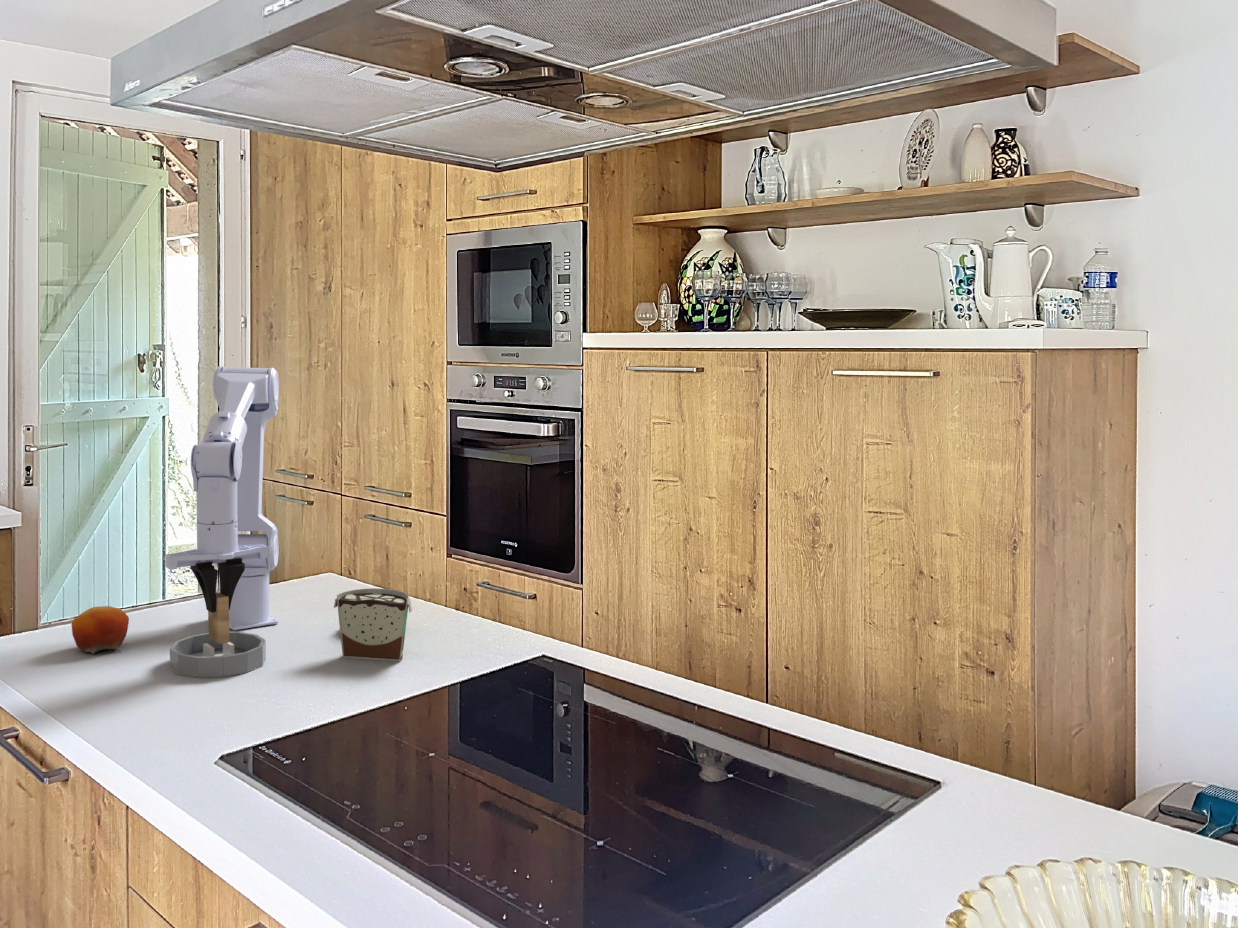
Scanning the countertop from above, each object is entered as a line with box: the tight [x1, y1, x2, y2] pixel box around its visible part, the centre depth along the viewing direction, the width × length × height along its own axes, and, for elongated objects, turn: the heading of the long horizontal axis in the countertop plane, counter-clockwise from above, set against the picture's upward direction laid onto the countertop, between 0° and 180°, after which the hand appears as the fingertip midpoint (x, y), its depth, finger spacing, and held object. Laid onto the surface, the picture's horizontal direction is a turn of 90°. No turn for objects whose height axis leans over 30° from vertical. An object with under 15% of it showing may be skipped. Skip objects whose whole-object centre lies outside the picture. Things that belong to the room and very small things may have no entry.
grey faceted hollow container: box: [169, 631, 267, 679], centre depth 160 cm, size 13×13×3 cm
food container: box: [333, 588, 413, 662], centre depth 167 cm, size 12×6×10 cm, turn 84°
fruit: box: [70, 605, 130, 655], centre depth 164 cm, size 8×8×8 cm
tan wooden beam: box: [207, 591, 230, 644], centre depth 159 cm, size 4×2×7 cm, turn 42°
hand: (218, 609), depth 159 cm, fingers closed on tan wooden beam, 1 cm apart
